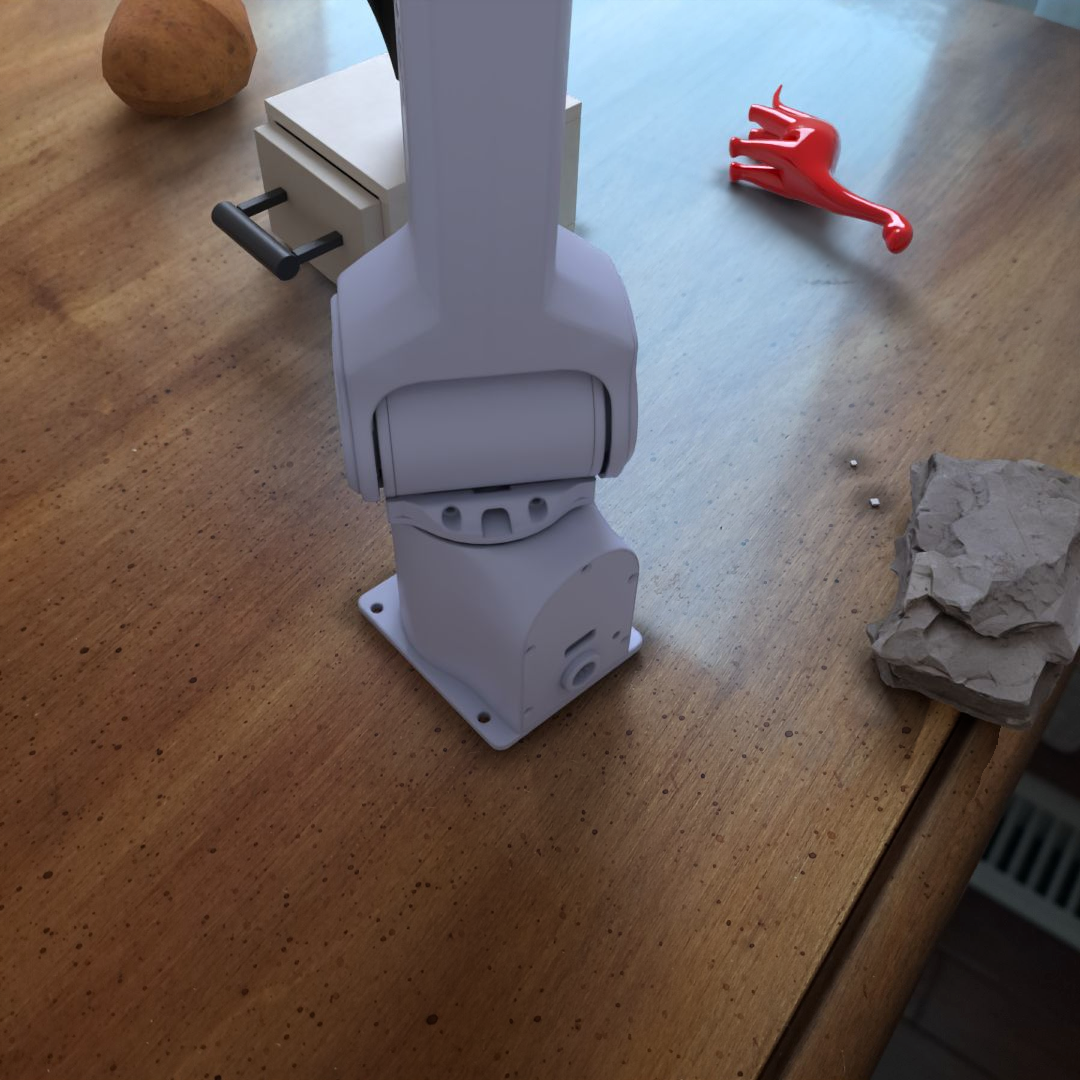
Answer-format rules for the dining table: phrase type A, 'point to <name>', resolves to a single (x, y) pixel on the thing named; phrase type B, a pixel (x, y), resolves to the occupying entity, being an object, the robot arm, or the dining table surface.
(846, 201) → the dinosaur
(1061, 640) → the rock
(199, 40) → the potato
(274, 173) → the drawer
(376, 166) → the cabinet
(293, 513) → the dining table surface
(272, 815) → the dining table surface
